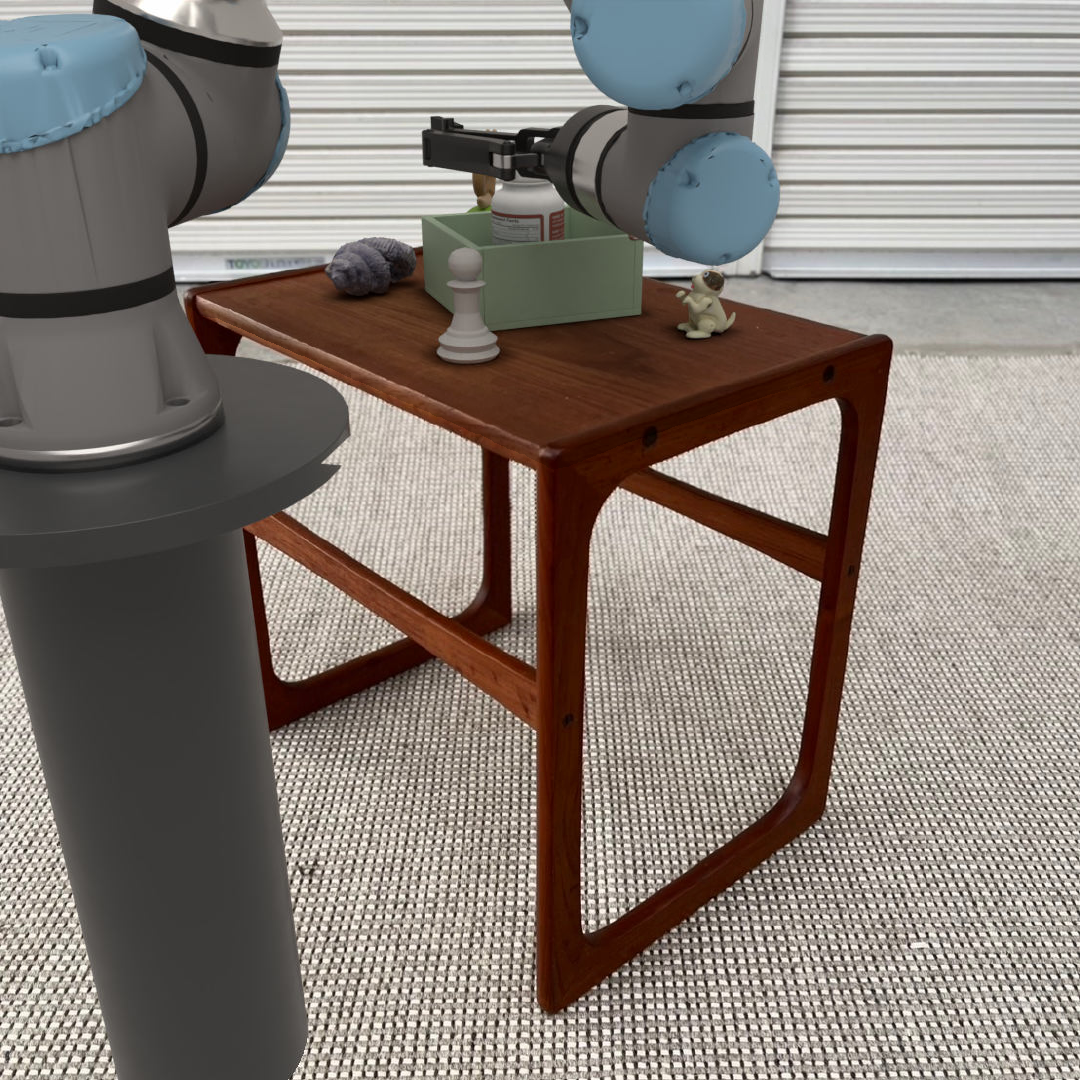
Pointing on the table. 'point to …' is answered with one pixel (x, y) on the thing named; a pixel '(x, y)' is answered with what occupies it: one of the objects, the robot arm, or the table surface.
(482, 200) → the snail figurine
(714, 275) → the toy dog
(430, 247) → the bin
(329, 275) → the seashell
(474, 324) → the chess piece
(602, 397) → the table surface
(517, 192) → the pill bottle
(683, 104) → the robot arm
